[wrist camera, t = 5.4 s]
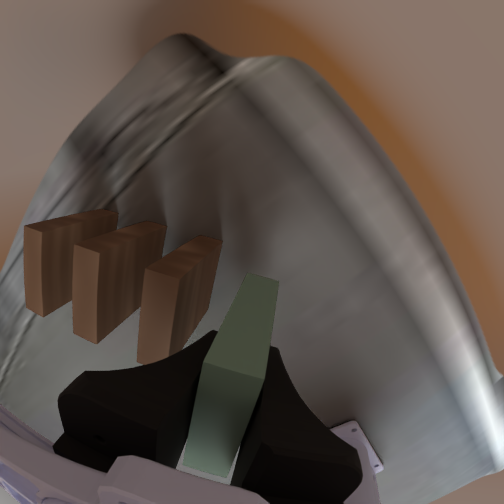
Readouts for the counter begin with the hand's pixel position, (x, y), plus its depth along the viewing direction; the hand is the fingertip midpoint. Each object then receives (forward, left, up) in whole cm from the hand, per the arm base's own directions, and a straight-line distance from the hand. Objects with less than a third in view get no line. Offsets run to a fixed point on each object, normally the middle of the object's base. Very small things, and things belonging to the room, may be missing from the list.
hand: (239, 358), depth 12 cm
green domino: (0, 0, -4) cm, 4 cm away
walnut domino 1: (+8, +9, -8) cm, 15 cm away
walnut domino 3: (+3, +3, -8) cm, 9 cm away
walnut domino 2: (+6, +6, -8) cm, 12 cm away
